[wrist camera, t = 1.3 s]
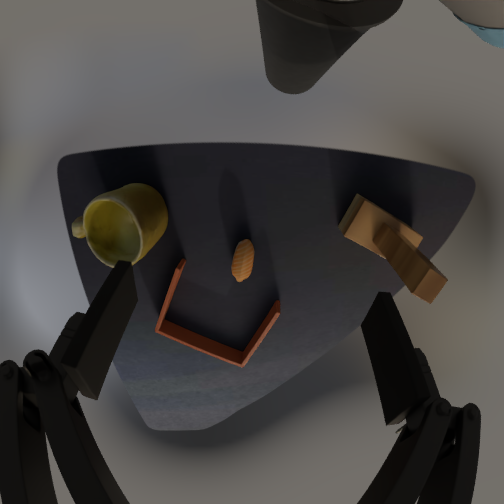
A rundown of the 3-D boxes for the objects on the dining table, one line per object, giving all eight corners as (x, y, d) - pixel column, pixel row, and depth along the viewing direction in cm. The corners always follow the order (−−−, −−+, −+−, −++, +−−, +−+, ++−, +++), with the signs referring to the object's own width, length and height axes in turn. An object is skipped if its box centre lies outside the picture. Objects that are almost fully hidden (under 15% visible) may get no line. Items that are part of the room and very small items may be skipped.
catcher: (182, 258, 39) (176, 267, 36) (280, 301, 41) (280, 313, 38) (160, 319, 44) (154, 331, 41) (244, 355, 46) (243, 367, 43)
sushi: (257, 237, 37) (256, 246, 34) (249, 279, 39) (247, 291, 37) (237, 233, 37) (234, 242, 34) (230, 276, 39) (227, 287, 37)
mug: (180, 176, 32) (128, 222, 25) (180, 240, 39) (140, 290, 32) (107, 158, 34) (54, 193, 27) (115, 216, 41) (73, 255, 34)
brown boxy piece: (337, 226, 35) (375, 289, 21) (356, 192, 33) (409, 238, 19) (393, 257, 37) (444, 324, 22) (412, 228, 35) (473, 284, 20)
